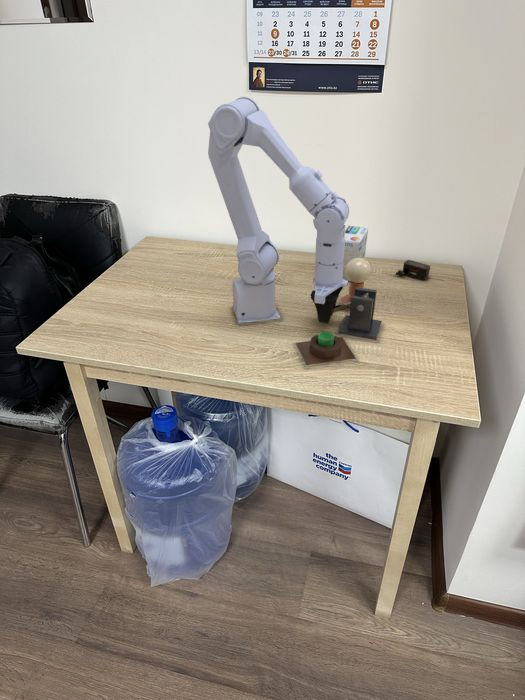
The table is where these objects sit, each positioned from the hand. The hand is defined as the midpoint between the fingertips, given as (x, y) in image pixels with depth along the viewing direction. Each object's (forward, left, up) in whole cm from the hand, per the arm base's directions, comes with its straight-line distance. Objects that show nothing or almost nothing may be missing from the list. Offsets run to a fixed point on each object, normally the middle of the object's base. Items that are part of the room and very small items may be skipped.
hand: (325, 318), depth 112 cm
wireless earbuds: (+29, +18, -2) cm, 34 cm away
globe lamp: (+9, +6, -2) cm, 11 cm away
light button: (-4, -10, +1) cm, 11 cm away
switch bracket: (+6, -4, -2) cm, 8 cm away
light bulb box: (+14, +24, -2) cm, 28 cm away
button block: (-4, -10, -2) cm, 11 cm away
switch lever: (+4, -2, +2) cm, 5 cm away
